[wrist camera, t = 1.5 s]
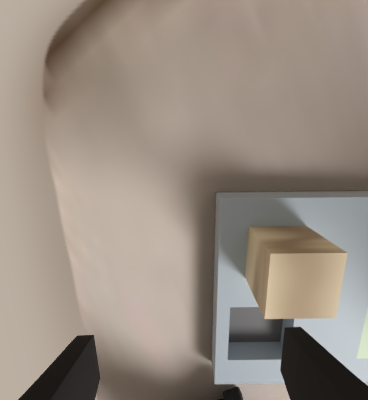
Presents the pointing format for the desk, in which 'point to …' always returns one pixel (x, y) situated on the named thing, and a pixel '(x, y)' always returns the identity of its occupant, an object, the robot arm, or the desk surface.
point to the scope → (232, 394)
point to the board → (245, 302)
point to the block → (294, 272)
